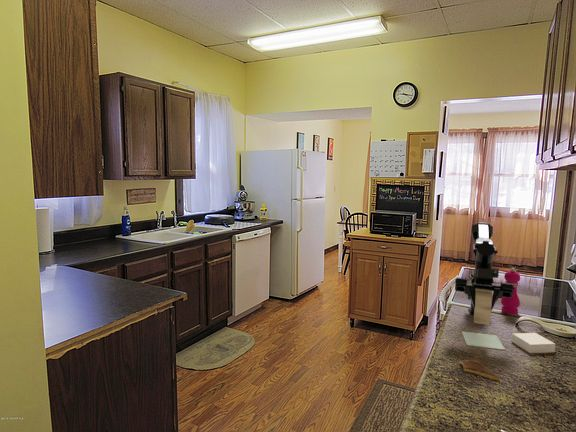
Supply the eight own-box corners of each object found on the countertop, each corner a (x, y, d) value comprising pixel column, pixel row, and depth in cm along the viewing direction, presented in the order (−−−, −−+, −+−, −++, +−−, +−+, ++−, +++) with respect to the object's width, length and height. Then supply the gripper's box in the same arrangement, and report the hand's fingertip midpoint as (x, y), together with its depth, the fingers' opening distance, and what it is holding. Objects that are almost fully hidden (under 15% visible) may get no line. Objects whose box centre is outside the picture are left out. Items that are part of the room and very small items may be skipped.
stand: (511, 341, 135) (512, 333, 135) (534, 340, 136) (535, 332, 136) (530, 353, 126) (530, 344, 126) (554, 352, 127) (555, 343, 127)
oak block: (473, 317, 136) (475, 288, 135) (489, 320, 134) (491, 290, 133) (474, 322, 132) (476, 292, 131) (490, 325, 130) (492, 294, 129)
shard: (501, 383, 109) (501, 377, 108) (476, 384, 108) (476, 378, 108) (478, 364, 119) (478, 359, 119) (455, 365, 119) (456, 360, 118)
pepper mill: (522, 315, 161) (526, 269, 159) (506, 314, 161) (509, 269, 159) (513, 309, 168) (516, 265, 166) (496, 309, 168) (500, 265, 166)
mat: (461, 332, 143) (461, 331, 143) (496, 336, 140) (496, 335, 140) (467, 345, 131) (467, 344, 131) (505, 350, 128) (505, 349, 128)
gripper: (456, 256, 138) (454, 293, 129) (515, 261, 130) (516, 301, 122) (456, 272, 146) (453, 308, 137) (511, 278, 138) (512, 316, 130)
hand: (482, 308), depth 131 cm, fingers closed on oak block, 5 cm apart
